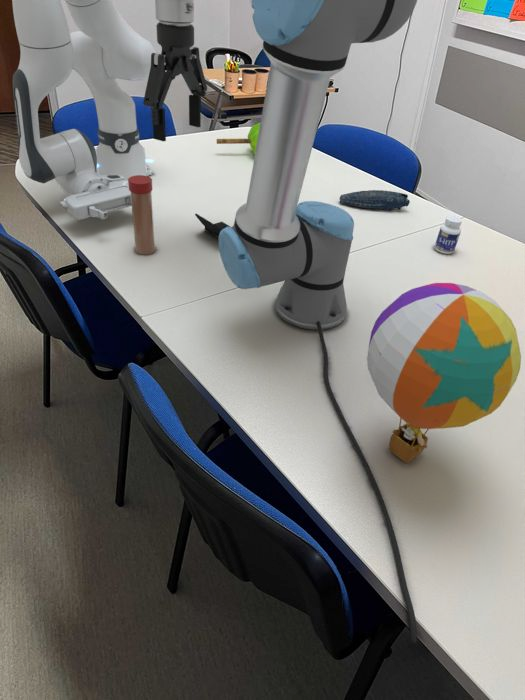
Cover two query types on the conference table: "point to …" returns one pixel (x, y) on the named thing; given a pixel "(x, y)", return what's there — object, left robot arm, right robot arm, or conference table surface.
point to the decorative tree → (251, 139)
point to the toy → (441, 360)
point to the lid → (140, 184)
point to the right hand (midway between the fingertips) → (178, 132)
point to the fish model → (376, 199)
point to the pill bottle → (448, 235)
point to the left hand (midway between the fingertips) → (122, 211)
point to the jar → (143, 223)
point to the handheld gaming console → (212, 226)
